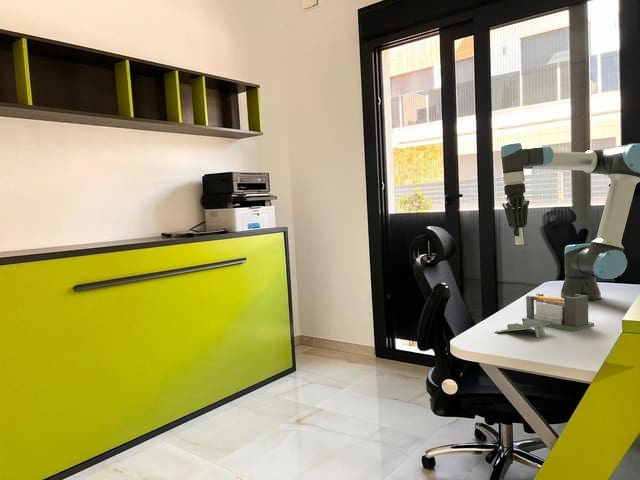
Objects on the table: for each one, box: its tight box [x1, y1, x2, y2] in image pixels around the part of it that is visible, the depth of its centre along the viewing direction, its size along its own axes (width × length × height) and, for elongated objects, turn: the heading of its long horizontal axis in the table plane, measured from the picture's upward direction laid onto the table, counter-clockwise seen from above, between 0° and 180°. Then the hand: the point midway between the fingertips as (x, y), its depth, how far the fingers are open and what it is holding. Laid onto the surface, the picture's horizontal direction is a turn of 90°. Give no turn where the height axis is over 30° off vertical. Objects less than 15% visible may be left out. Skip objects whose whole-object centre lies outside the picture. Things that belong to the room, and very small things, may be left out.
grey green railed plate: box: [521, 314, 595, 332], centre depth 169 cm, size 19×12×1 cm, turn 29°
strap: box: [534, 295, 564, 302], centre depth 169 cm, size 16×3×1 cm, turn 29°
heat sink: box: [525, 293, 565, 325], centre depth 171 cm, size 14×9×8 cm, turn 29°
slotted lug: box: [564, 294, 589, 327], centre depth 163 cm, size 4×7×10 cm, turn 119°
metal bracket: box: [493, 319, 550, 339], centre depth 160 cm, size 14×6×15 cm
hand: (519, 244), depth 186 cm, fingers closed
